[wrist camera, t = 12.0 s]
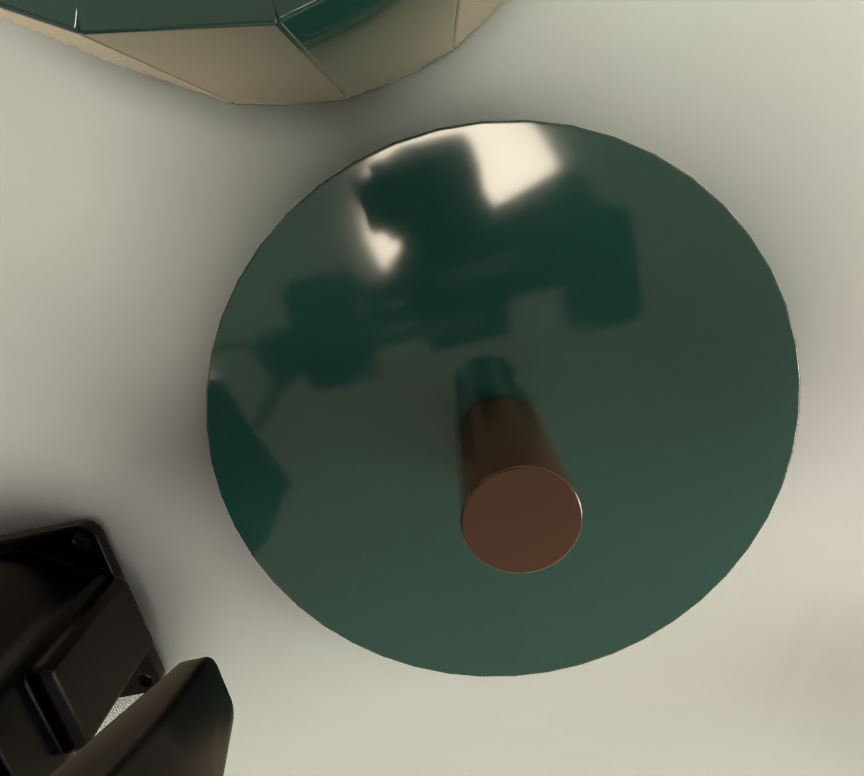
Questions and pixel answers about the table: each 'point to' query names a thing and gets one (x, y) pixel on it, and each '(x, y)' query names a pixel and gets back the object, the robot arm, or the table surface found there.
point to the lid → (503, 398)
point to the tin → (261, 41)
